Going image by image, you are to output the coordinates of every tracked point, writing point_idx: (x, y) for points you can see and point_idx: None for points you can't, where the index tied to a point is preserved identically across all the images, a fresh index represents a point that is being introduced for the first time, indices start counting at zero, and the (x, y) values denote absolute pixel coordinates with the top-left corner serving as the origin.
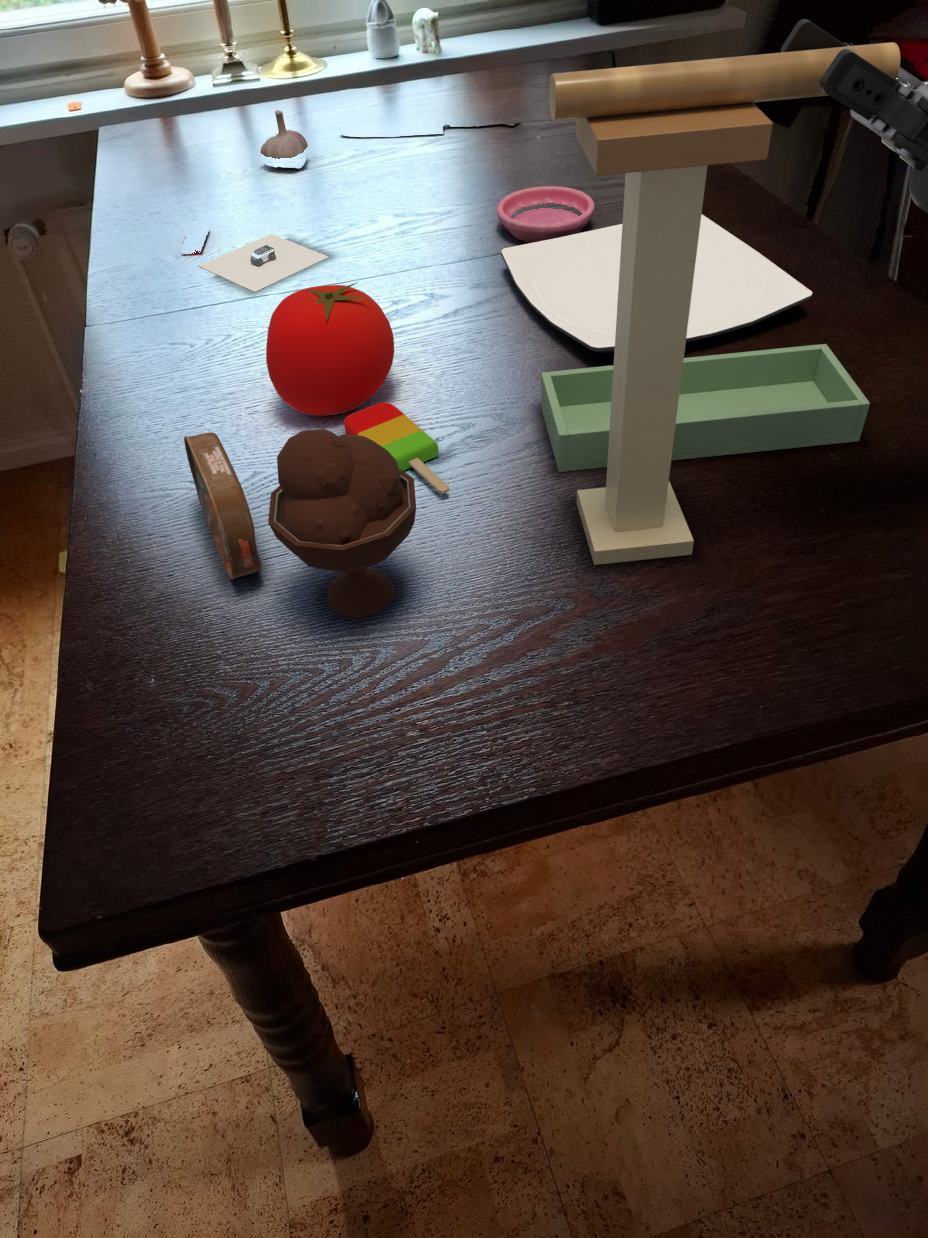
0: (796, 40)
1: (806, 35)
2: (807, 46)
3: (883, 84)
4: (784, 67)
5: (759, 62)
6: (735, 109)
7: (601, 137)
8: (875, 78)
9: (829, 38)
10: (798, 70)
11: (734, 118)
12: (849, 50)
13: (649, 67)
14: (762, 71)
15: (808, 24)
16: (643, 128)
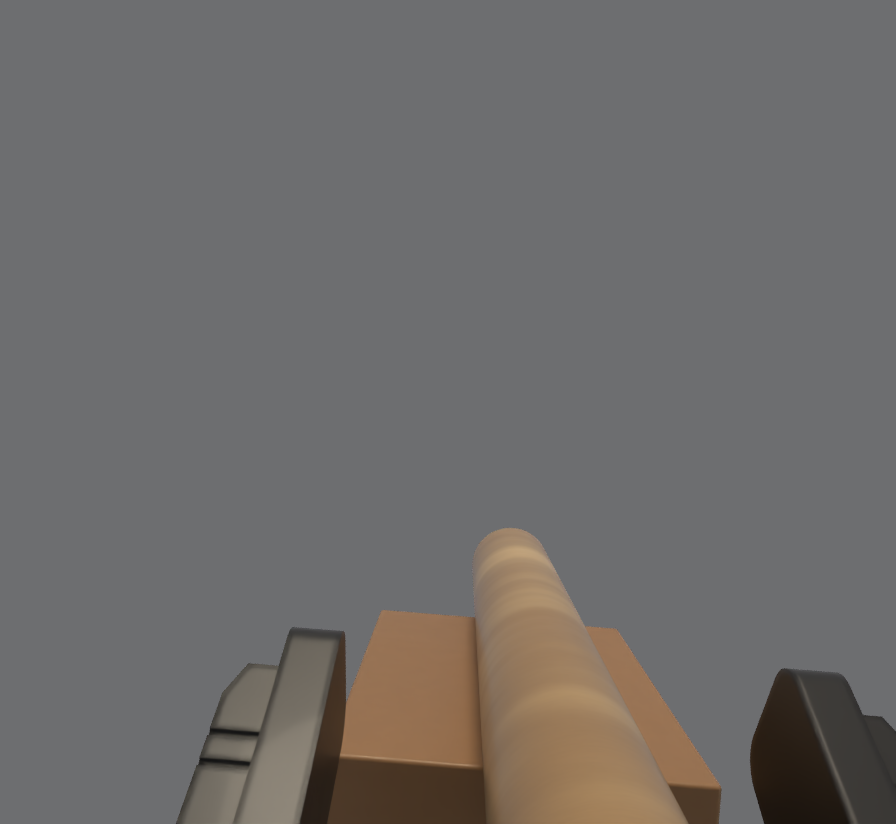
0: (768, 725)
1: (789, 727)
2: (789, 777)
3: (182, 812)
4: (499, 683)
5: (515, 641)
6: (477, 735)
7: (388, 612)
8: (211, 769)
9: (835, 801)
10: (495, 714)
11: (404, 720)
12: (316, 634)
13: (514, 562)
14: (493, 662)
15: (793, 685)
16: (409, 639)
